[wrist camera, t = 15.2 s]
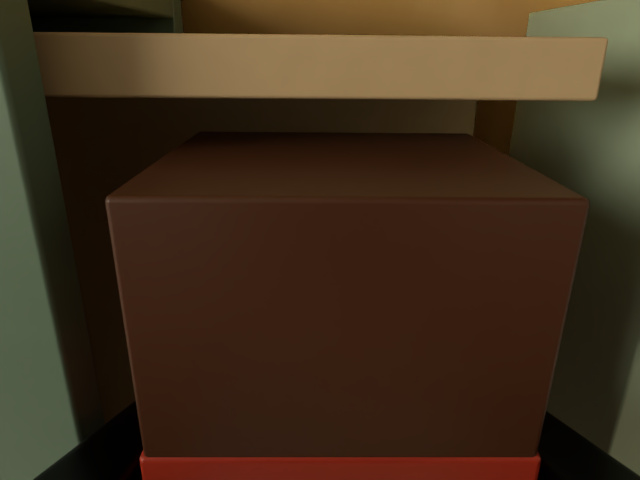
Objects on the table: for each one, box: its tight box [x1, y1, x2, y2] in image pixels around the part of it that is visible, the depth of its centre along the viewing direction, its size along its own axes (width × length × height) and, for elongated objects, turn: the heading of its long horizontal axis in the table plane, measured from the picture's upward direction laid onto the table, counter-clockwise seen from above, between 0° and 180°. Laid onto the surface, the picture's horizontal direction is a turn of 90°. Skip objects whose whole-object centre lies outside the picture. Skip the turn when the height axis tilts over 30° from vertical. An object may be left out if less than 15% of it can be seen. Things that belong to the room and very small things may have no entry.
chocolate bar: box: [105, 132, 590, 480], centre depth 8 cm, size 5×9×4 cm, turn 0°
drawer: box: [33, 0, 640, 476], centre depth 11 cm, size 20×13×6 cm
